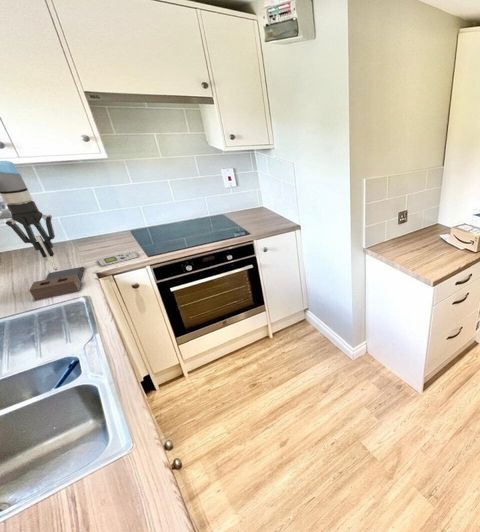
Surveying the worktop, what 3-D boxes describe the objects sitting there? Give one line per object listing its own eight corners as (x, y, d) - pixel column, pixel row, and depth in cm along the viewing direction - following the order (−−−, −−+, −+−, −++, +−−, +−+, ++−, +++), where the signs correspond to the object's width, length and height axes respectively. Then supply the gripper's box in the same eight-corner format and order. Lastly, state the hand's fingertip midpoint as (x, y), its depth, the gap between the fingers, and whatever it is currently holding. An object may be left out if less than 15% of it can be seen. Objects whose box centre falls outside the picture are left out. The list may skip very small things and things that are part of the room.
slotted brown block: (78, 291, 138) (73, 281, 136) (35, 300, 131) (29, 290, 129) (81, 283, 144) (76, 273, 142) (39, 292, 137) (33, 281, 135)
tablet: (42, 289, 139) (41, 287, 138) (50, 274, 150) (49, 272, 150) (79, 282, 145) (78, 279, 145) (84, 268, 157) (83, 266, 156)
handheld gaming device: (137, 255, 168) (101, 264, 158) (138, 256, 169) (101, 266, 159) (133, 250, 174) (97, 259, 163) (133, 252, 174) (98, 260, 164)
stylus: (53, 271, 140) (35, 237, 132) (54, 269, 141) (36, 235, 134) (58, 270, 141) (40, 236, 133) (59, 268, 142) (41, 235, 134)
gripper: (47, 197, 133) (72, 248, 144) (-4, 202, 126) (27, 256, 136) (43, 201, 128) (70, 254, 139) (-11, 207, 120) (22, 263, 131)
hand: (48, 255), depth 138 cm, fingers closed on stylus, 1 cm apart
